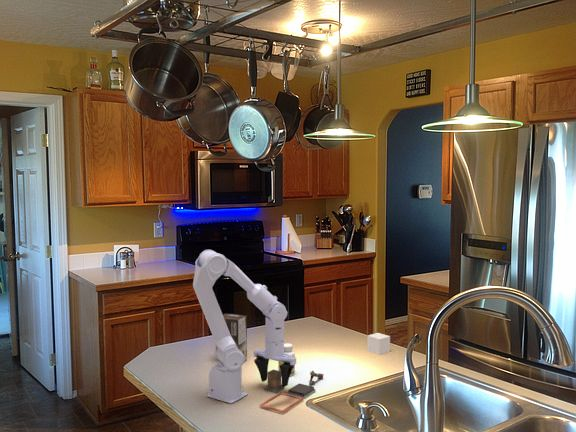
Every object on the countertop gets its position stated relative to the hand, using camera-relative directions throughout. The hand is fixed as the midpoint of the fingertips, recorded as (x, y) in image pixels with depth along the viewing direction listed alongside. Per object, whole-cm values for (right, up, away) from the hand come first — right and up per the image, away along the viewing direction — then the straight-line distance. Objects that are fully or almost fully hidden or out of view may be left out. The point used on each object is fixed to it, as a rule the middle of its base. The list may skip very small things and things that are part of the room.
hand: (274, 383), depth 167 cm
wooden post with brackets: (+13, -2, +6) cm, 15 cm away
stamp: (0, -2, 0) cm, 2 cm away
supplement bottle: (+4, -1, +13) cm, 14 cm away
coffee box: (-16, 0, +26) cm, 30 cm away
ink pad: (+8, -2, -3) cm, 9 cm away
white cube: (+38, 0, +37) cm, 53 cm away
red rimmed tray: (+2, -3, -11) cm, 11 cm away
